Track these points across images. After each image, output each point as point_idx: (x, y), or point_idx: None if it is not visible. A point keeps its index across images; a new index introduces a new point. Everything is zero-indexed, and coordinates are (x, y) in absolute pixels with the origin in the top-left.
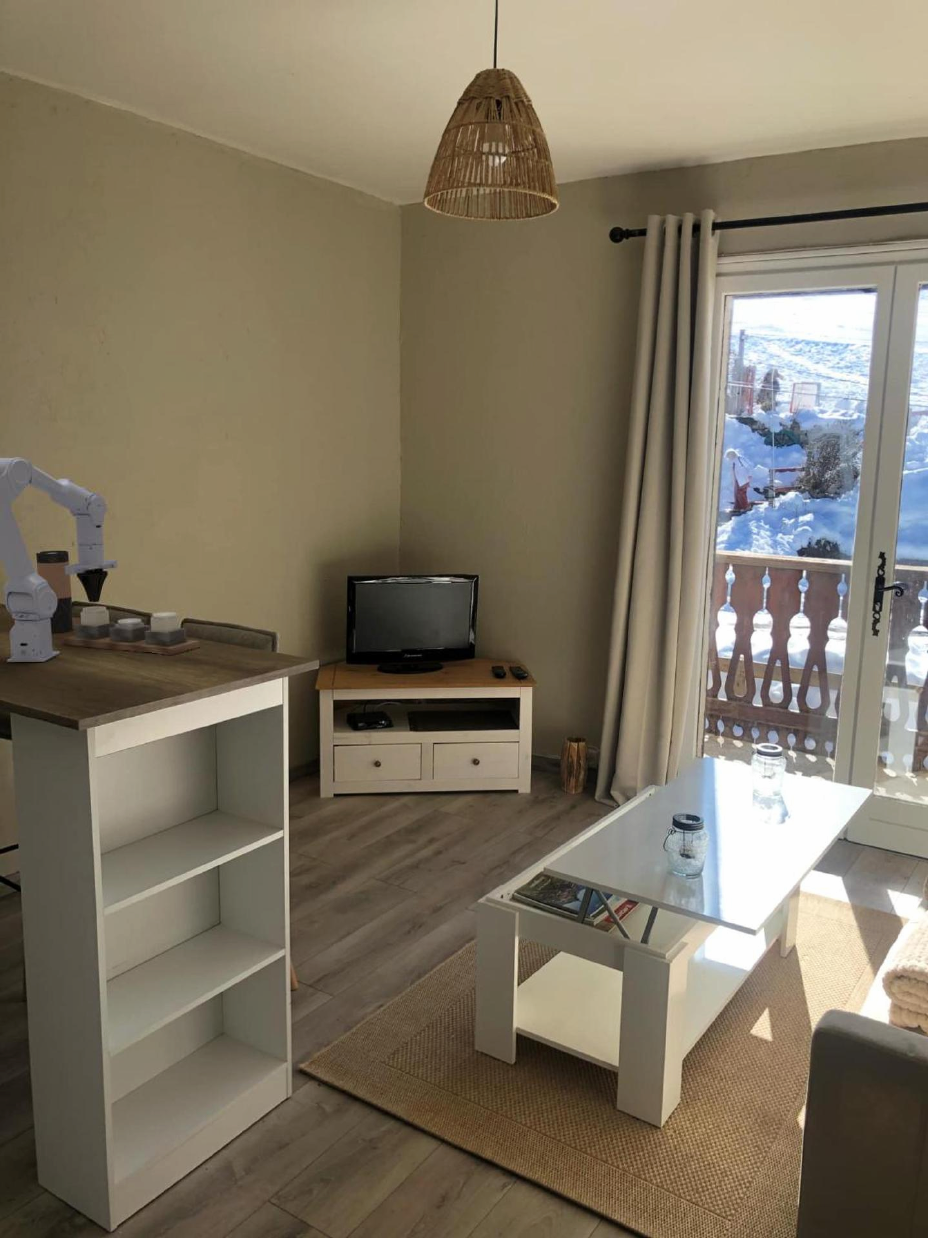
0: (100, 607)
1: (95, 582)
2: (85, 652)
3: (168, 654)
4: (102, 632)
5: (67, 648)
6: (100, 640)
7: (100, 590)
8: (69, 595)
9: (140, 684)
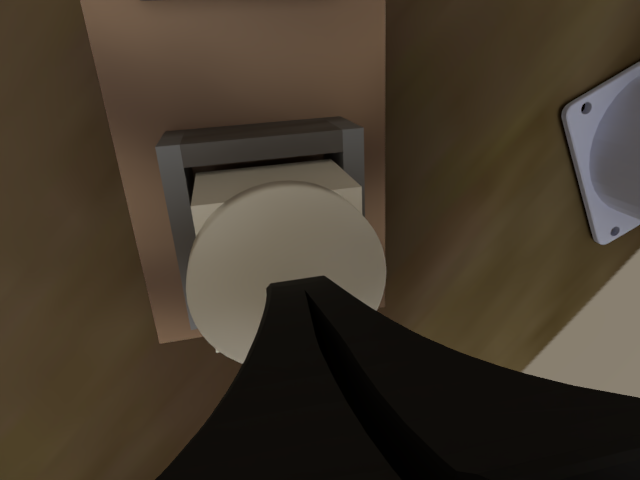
0: (237, 270)
1: (456, 371)
2: (488, 18)
3: None
4: (294, 124)
5: (437, 195)
6: (350, 69)
7: (276, 333)
8: None
9: None
